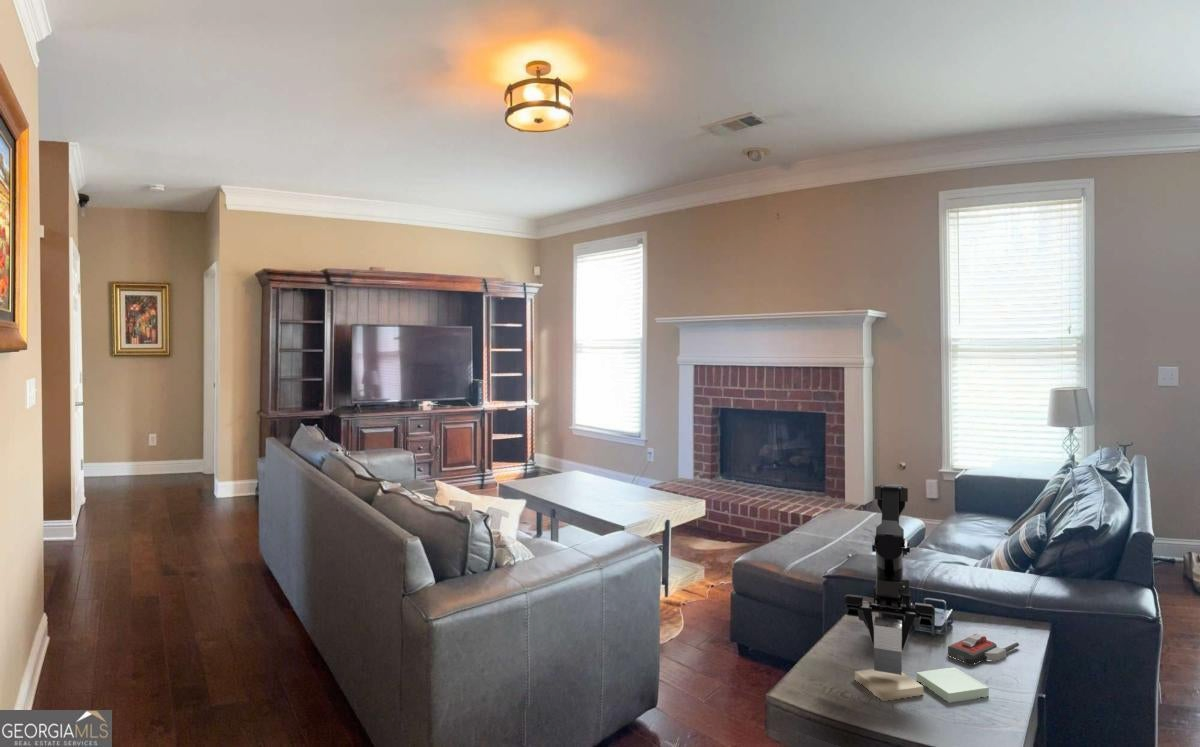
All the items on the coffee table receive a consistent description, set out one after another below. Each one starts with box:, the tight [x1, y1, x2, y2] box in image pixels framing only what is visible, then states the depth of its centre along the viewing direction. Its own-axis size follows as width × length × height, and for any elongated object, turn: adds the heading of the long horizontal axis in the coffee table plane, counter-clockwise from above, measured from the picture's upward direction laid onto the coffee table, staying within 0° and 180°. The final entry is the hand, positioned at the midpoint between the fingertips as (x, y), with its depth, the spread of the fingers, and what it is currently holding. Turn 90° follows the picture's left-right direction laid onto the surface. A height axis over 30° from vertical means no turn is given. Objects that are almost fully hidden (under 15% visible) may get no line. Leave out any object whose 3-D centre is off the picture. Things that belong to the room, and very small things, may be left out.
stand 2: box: [915, 666, 990, 704], centre depth 150 cm, size 10×10×2 cm
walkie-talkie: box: [947, 633, 1020, 665], centre depth 167 cm, size 9×4×20 cm
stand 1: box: [854, 668, 924, 702], centre depth 151 cm, size 10×10×2 cm
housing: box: [873, 616, 903, 675], centre depth 151 cm, size 6×6×10 cm
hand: (887, 646), depth 149 cm, fingers closed on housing, 5 cm apart
